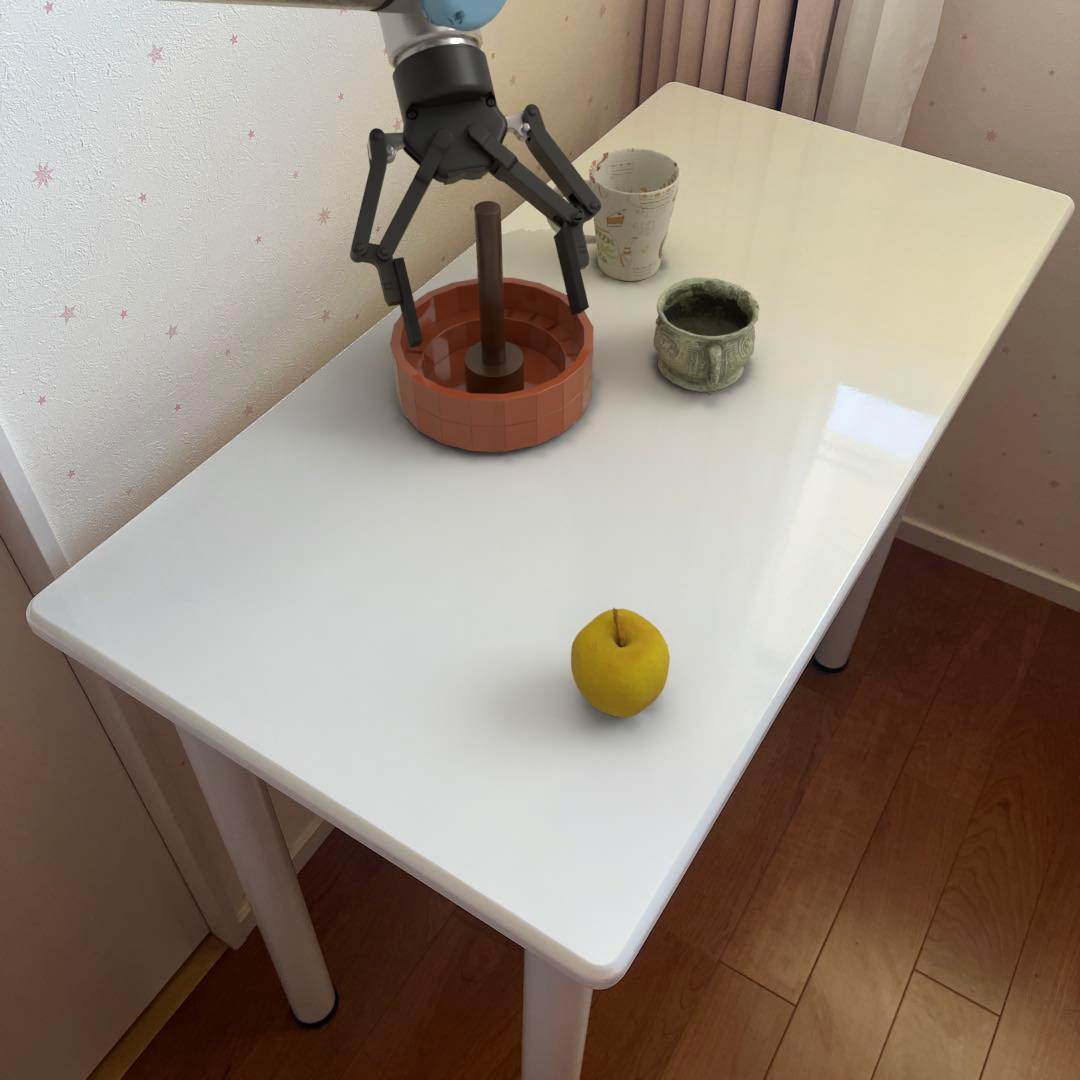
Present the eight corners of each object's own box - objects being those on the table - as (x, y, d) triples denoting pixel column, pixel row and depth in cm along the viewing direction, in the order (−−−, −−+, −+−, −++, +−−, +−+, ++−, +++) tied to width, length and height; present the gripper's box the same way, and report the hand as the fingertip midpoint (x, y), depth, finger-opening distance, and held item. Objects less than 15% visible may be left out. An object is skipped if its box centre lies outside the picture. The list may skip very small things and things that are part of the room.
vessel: (643, 326, 101) (648, 267, 97) (738, 322, 102) (747, 264, 97) (659, 411, 93) (665, 351, 89) (763, 407, 94) (774, 347, 89)
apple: (600, 646, 76) (604, 569, 71) (681, 687, 74) (693, 612, 68) (550, 710, 73) (550, 636, 67) (634, 756, 70) (642, 683, 65)
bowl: (387, 455, 90) (379, 398, 85) (409, 331, 101) (403, 275, 97) (591, 458, 89) (594, 401, 85) (590, 334, 101) (592, 278, 96)
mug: (667, 292, 105) (677, 196, 98) (537, 280, 106) (537, 186, 99) (674, 244, 111) (683, 151, 103) (550, 234, 112) (551, 141, 105)
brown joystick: (463, 404, 93) (451, 225, 81) (468, 367, 97) (456, 189, 84) (523, 405, 93) (519, 226, 81) (525, 367, 96) (522, 190, 84)
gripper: (575, 57, 93) (631, 307, 94) (278, 102, 87) (342, 365, 89) (600, 17, 85) (660, 288, 87) (277, 63, 80) (347, 351, 81)
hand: (499, 328), depth 88 cm, fingers open, 13 cm apart
